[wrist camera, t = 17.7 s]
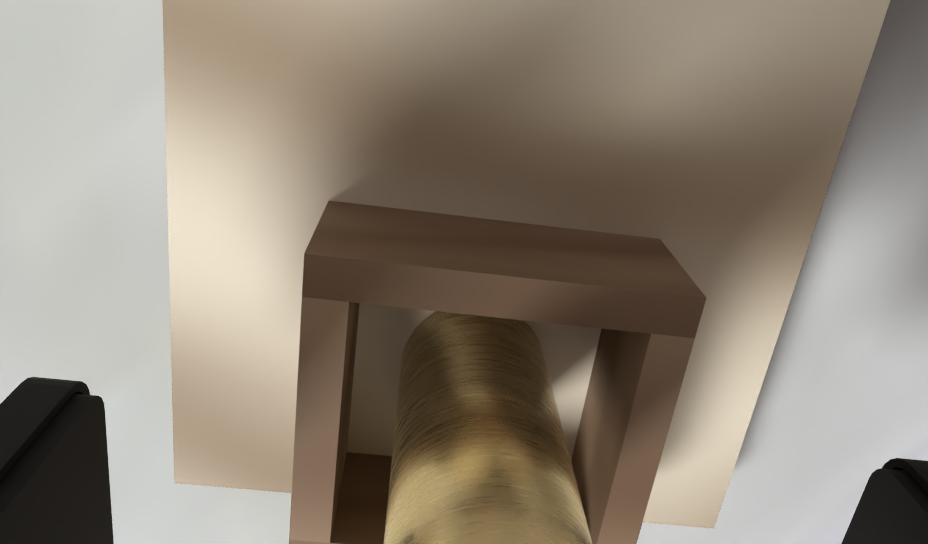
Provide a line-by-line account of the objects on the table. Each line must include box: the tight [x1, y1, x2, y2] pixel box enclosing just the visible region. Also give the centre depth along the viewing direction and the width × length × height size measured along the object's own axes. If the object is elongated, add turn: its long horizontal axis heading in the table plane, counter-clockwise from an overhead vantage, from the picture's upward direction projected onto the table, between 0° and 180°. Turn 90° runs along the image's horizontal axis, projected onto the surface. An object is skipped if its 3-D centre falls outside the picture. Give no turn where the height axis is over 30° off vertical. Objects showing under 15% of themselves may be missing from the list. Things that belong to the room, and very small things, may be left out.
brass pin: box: [384, 311, 592, 544], centre depth 9 cm, size 2×2×7 cm
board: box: [163, 0, 891, 544], centre depth 10 cm, size 15×10×4 cm
